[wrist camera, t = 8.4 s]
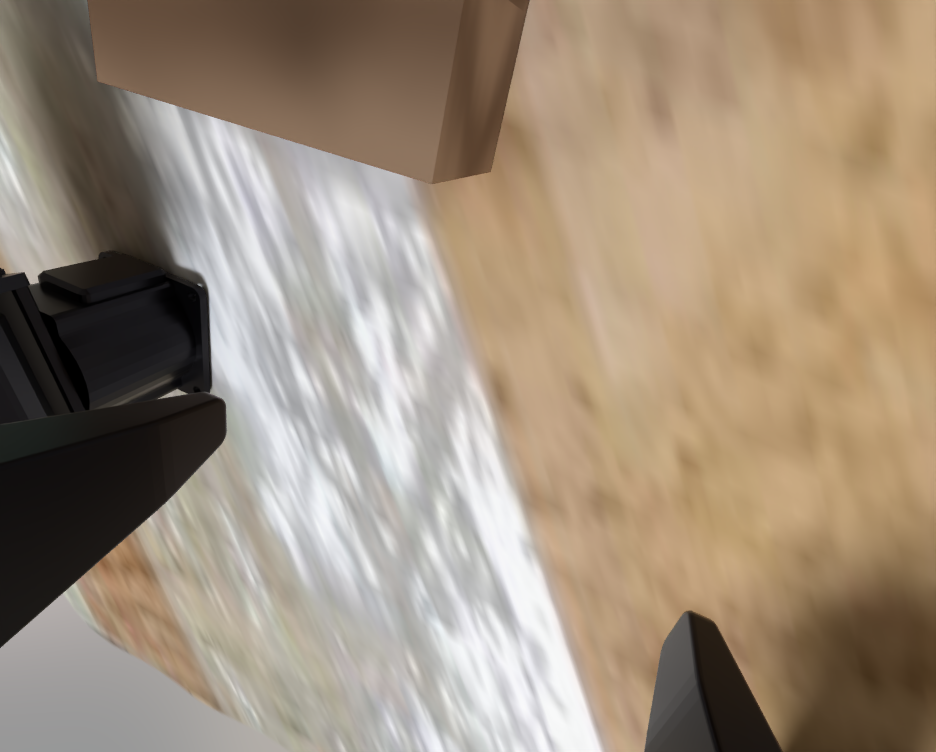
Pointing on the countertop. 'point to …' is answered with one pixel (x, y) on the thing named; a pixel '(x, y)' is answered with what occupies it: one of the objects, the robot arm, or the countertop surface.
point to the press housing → (328, 72)
